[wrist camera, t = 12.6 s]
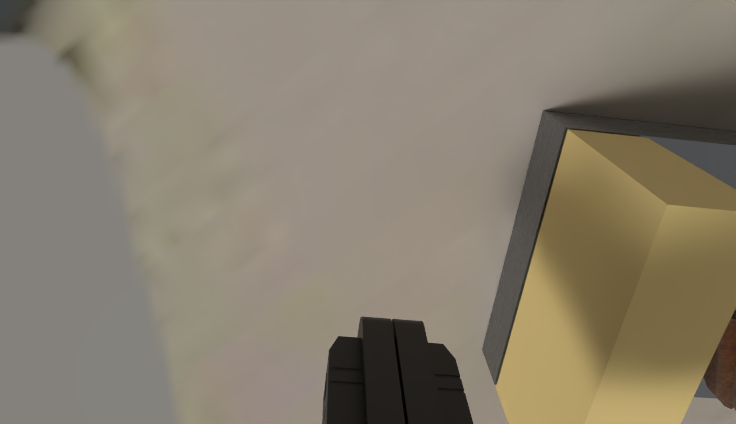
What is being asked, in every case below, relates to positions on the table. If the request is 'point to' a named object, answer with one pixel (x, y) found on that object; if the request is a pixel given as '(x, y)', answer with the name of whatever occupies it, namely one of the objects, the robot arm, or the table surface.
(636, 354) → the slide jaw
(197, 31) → the table surface
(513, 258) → the plate
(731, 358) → the bolt
